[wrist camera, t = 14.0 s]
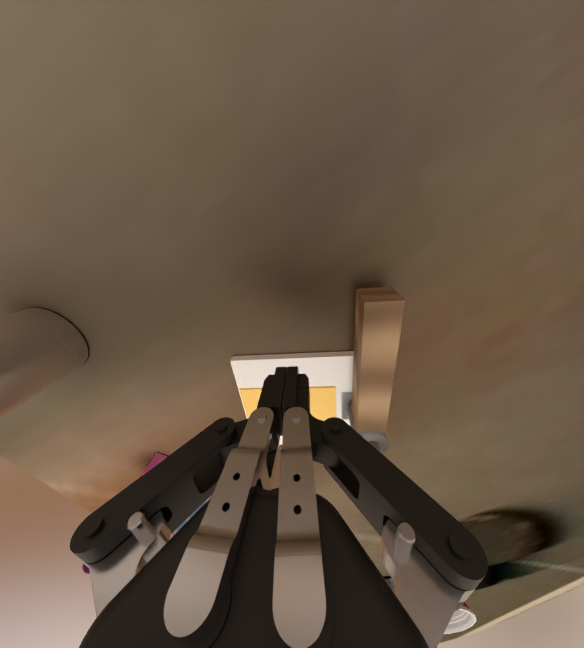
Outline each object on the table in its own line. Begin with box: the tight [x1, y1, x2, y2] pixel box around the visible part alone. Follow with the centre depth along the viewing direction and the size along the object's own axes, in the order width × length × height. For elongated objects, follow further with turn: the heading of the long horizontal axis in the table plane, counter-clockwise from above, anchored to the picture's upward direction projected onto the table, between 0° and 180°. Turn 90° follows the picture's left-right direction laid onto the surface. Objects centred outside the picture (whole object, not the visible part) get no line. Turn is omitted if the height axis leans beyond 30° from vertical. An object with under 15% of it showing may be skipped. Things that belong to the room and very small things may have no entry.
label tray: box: [230, 351, 354, 444], centre depth 29 cm, size 18×16×1 cm
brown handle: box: [348, 287, 405, 454], centre depth 21 cm, size 18×4×7 cm, turn 5°
